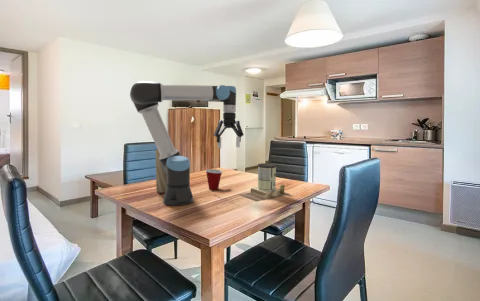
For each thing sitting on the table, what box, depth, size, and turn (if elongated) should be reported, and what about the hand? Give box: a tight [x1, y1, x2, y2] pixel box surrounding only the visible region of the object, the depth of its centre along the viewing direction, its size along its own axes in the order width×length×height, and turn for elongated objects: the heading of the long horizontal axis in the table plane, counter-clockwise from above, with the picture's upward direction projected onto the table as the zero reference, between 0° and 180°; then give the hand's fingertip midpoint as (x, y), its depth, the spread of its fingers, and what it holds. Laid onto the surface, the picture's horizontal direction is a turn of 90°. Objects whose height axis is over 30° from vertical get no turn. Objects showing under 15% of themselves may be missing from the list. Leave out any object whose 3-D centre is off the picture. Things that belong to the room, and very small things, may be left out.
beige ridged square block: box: [250, 186, 280, 198], centre depth 154 cm, size 12×12×3 cm
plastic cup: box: [205, 168, 223, 191], centre depth 170 cm, size 11×11×12 cm
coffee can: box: [257, 162, 277, 191], centre depth 154 cm, size 10×10×14 cm
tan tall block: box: [155, 148, 167, 193], centre depth 164 cm, size 10×10×25 cm
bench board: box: [238, 184, 291, 203], centre depth 154 cm, size 26×16×6 cm, turn 127°
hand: (228, 147), depth 165 cm, fingers open, 13 cm apart
